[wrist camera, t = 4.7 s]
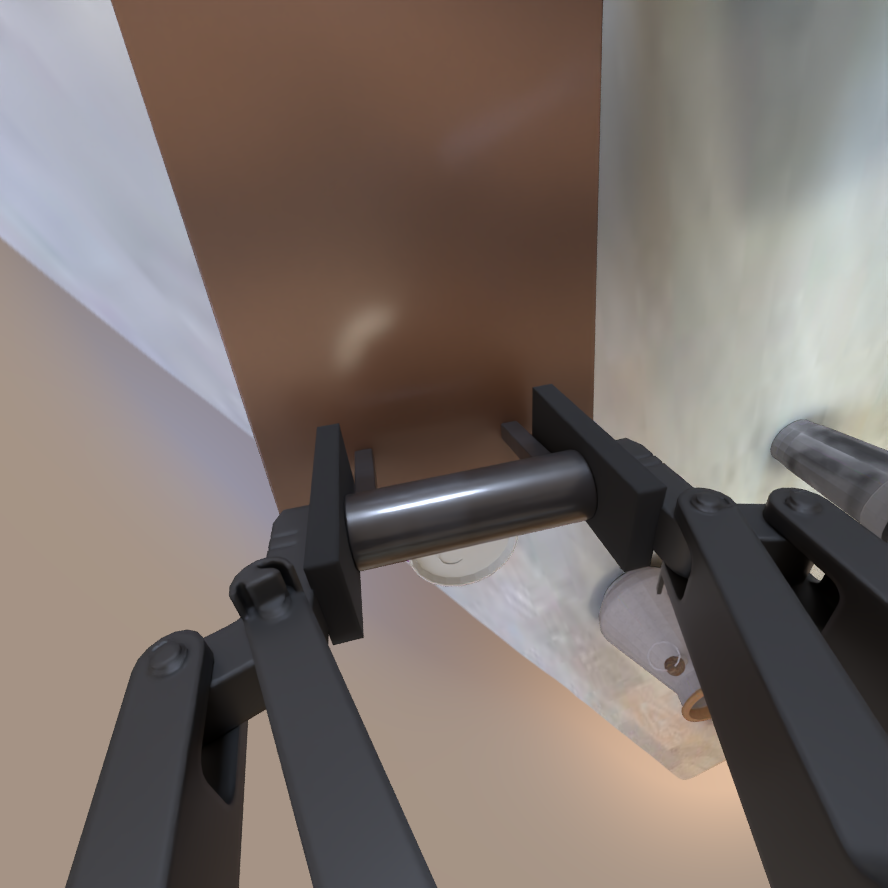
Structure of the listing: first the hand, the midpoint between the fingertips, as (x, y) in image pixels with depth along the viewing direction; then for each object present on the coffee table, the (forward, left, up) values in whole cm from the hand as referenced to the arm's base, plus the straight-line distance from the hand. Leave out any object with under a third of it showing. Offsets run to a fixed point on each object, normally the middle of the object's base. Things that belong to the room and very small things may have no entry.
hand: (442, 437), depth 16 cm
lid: (0, -7, -3) cm, 7 cm away
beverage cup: (-37, +17, -15) cm, 43 cm away
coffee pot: (-20, +30, -15) cm, 39 cm away
